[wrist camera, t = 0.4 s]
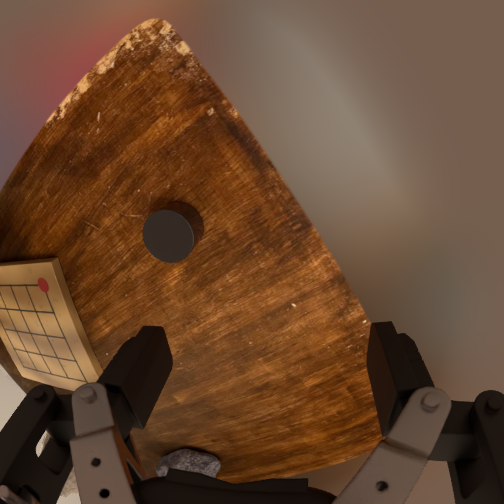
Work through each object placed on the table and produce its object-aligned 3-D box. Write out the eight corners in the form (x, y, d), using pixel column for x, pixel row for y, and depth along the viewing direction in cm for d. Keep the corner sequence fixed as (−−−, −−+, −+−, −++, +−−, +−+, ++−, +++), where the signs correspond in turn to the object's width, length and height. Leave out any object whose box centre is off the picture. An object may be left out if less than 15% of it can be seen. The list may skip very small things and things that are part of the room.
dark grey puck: (152, 204, 28) (137, 213, 25) (199, 198, 28) (188, 206, 25) (162, 251, 30) (149, 264, 27) (207, 248, 29) (198, 261, 26)
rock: (203, 497, 43) (151, 483, 41) (205, 475, 48) (155, 461, 46) (227, 476, 39) (165, 460, 37) (228, 450, 44) (170, 434, 42)
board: (-22, 265, 36) (-28, 268, 34) (58, 257, 32) (50, 262, 31) (26, 372, 43) (22, 377, 42) (114, 392, 40) (109, 399, 38)
